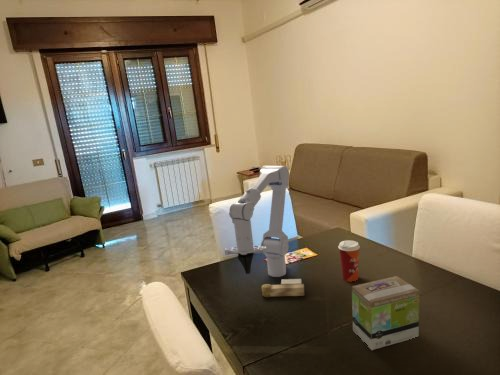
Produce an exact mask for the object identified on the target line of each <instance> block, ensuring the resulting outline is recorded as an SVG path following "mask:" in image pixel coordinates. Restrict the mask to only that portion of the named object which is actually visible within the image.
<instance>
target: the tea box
mask: <svg viewBox="0 0 500 375" xmlns="http://www.w3.org/2000/svg"><path fill="white" fill-rule="evenodd" d="M351 307H352V310H351V312H352V331H353V332H354V333H355V334H356V336H357V335H358V336H359V337H360V338H361V339H360V338H359V337H358V336H357V337H358V338H359V339H360V340H361V341H362V342H363V343H364V342H365V343H366V344H367V345H368V346H367V345H366V344H365V343H364V344H365V345H366V346H367V347H368V348H369V350H370V351H375V350H377V349H381V348H384V347H388V346H391V345H395V344H398V343H402V342H405V341H409V339H410V340H413V339H412V338H414V339H416V338H415V337H418V336H419V332H420V330H419V329H420V290H419V289H418V288H416V287H414V286H413V285H412V284H410V283H409V282H407V281H405V280H404V279H402V278H401V277H399V276H398V275H395V276H390V277H386V278H381V279H377V280H372V281H368V282H365V283H364V282H363V283H359V284H355V285H352V286H351ZM418 338H419V337H418Z"/></svg>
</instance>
